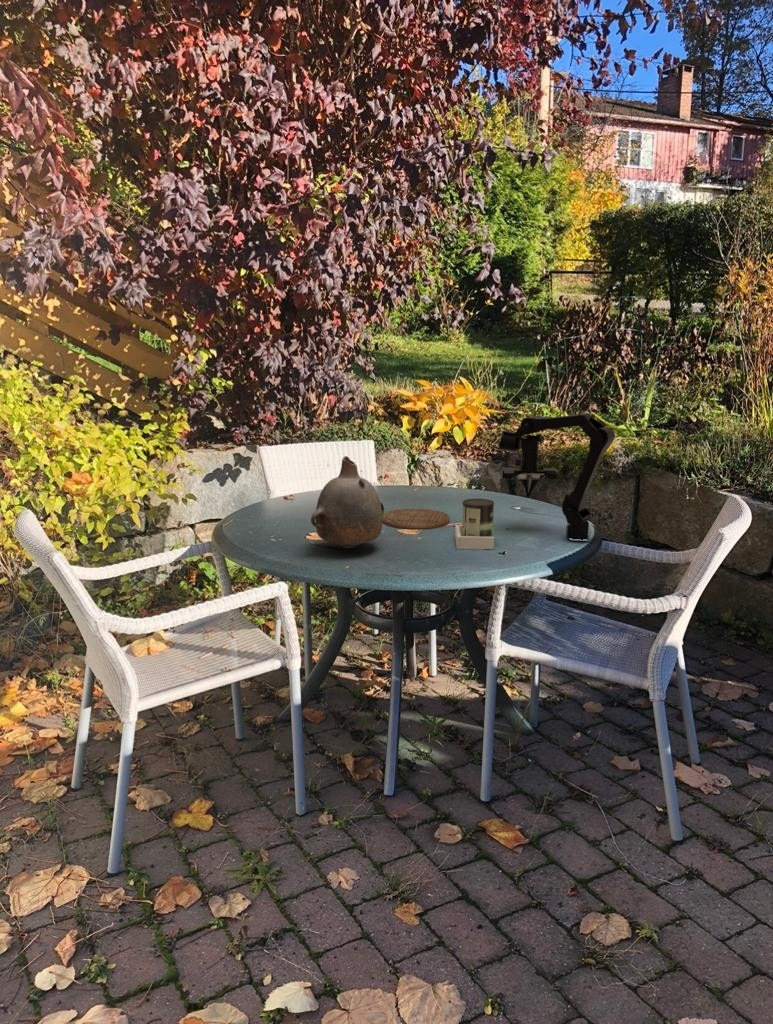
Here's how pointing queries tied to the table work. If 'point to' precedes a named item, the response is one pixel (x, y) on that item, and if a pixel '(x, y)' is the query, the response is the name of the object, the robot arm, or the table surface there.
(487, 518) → the coffee can
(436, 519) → the trivet
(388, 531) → the table surface
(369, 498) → the jug
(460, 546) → the frame
